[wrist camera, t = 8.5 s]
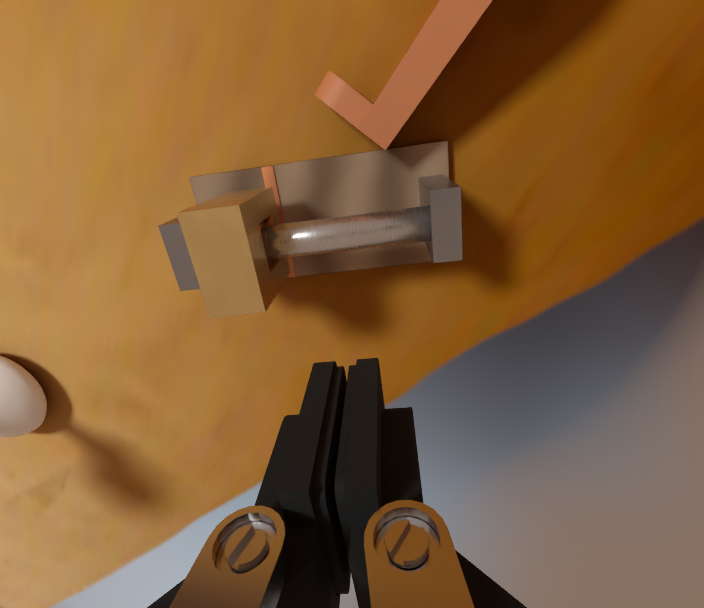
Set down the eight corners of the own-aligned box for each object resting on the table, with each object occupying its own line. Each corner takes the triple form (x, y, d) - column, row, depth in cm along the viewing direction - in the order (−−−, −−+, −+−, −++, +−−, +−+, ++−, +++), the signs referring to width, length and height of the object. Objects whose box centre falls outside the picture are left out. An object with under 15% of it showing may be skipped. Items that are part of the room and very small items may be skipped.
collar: (272, 186, 31) (238, 204, 23) (290, 271, 34) (265, 312, 26) (224, 193, 31) (176, 213, 24) (246, 276, 34) (209, 317, 27)
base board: (446, 140, 32) (447, 140, 31) (450, 256, 36) (451, 259, 35) (192, 176, 34) (188, 177, 33) (223, 281, 38) (219, 285, 37)
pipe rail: (441, 173, 33) (460, 186, 25) (443, 231, 35) (462, 260, 27) (206, 204, 35) (158, 225, 27) (221, 257, 37) (180, 290, 29)
